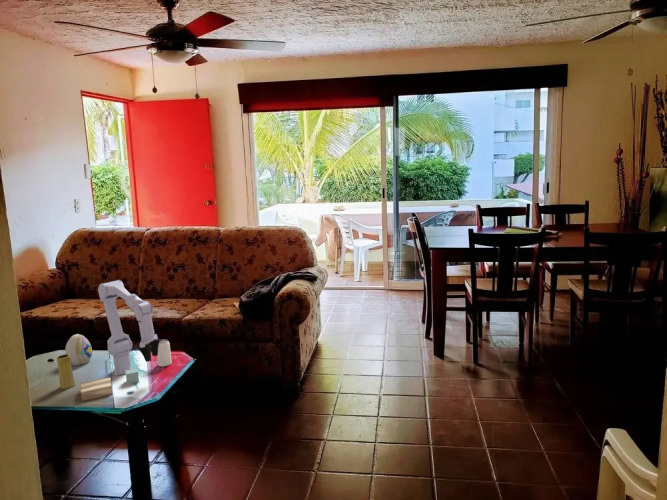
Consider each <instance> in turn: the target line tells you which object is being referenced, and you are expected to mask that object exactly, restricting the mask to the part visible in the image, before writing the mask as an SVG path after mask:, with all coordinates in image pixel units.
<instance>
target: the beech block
mask: <svg viewBox="0 0 667 500" xmlns="http://www.w3.org/2000/svg"><path fill="white" fill-rule="evenodd" d="M113 394H114V393H113V387H112V380H111V377H110V376H109V377H105V378H100V379H95V380H90V381H85V382H80V395H81V401H83V402H84V401H88V400H92V399H97V398H101V397H105V396H106V397H107V396H110V395H113Z"/></svg>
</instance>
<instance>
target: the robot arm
mask: <svg viewBox="0 0 667 500" xmlns="http://www.w3.org/2000/svg"><path fill="white" fill-rule="evenodd" d="M124 285H125V284H124V283H123V281H122V280H120V279H118V280H113V281H109V282H104V283H100V284H99V286H98V288H97V292H98V296H99V300H100V301H101V302H103V306H104V311H105V313H106V314H105V315H106V317H107V319H106V320H107V322H108V326H109V330H110V333H111V336H110V337H109V338H108V340H107V351H108V353H109V355H111V357H112V358H113V359H112V360H113V365H114V368H113V372H114V376H115V377H116V376H122V375H126V372H125V371H126V370H131V369H133V367H132V364H131V356H130V353H131V350H132V349H133V341H132V340H131V339H130V335H129V334H126V333H124V330H123V327H122V324H121V319H120V315H119V312H118V308H117V307H118V306H117V304H116V300H117V299H118V298H119V297H120V298H121V299H123V300H125V302H124V303H125V305H127V306H128V307H129V308H130V309H132V310H133V314H134V316H135V318H136V321H137V322H138V323H137V324H138V326H139V332H140V338H141V340H140V343H139V346H138V347H137V349H138V351H139V352H140V353H141V355H142V356H143V358H144V361H145V362H146V363H147V362H151V361H152V356H153V357H157V356H158V346H159V342H160V340H161V339H160V338H158V333H156V334H155V329H154V325H153V318H152V314H153V310H154V308H153V304H152V302H150V301H149V300H143V299H142V298H140V297H139V296H138V295H137V294H135V293H130V292H129V291H128V290H127V289H126V288H125V286H124Z"/></svg>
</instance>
